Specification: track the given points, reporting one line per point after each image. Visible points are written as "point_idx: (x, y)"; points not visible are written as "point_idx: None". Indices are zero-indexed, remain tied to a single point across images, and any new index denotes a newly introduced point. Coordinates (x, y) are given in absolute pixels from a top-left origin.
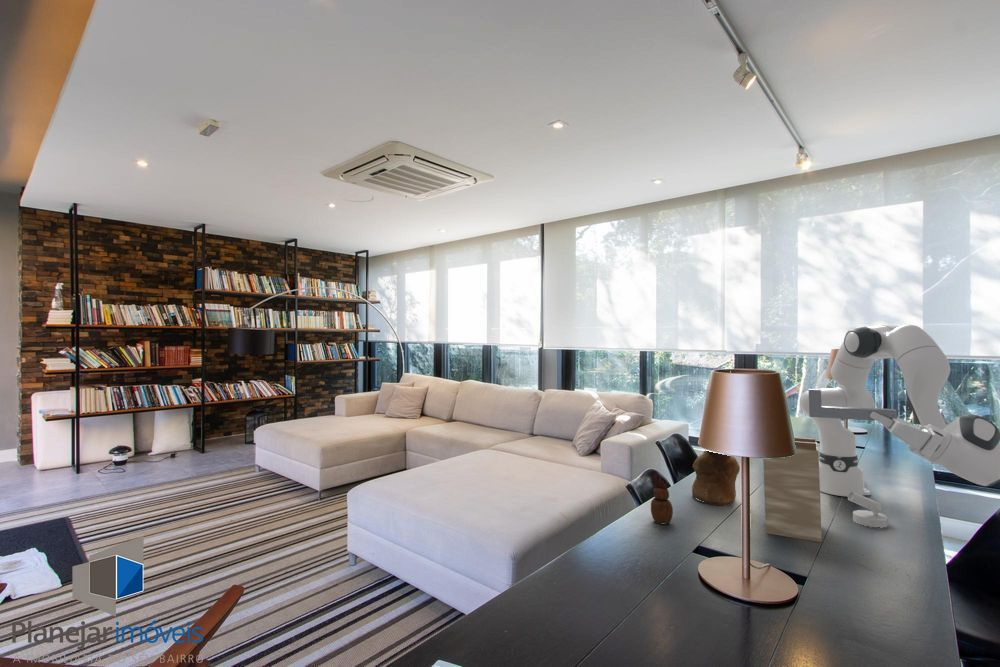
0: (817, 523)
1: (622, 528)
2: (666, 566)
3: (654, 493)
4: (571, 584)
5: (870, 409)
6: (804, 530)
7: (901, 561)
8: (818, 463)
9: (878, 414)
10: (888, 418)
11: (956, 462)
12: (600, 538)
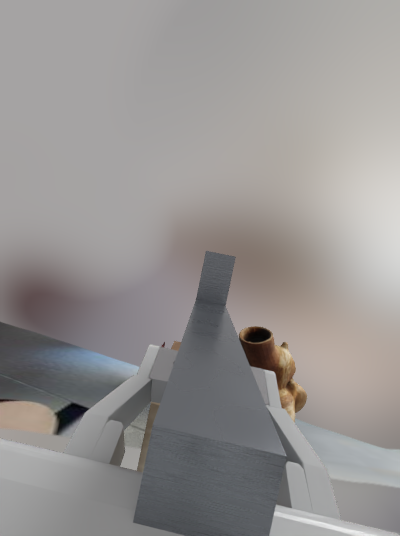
0: None
1: (130, 368)
2: (40, 382)
3: None
4: (24, 343)
5: (183, 338)
6: None
7: None
8: (144, 434)
9: (139, 368)
10: (88, 416)
11: None
12: (106, 357)
